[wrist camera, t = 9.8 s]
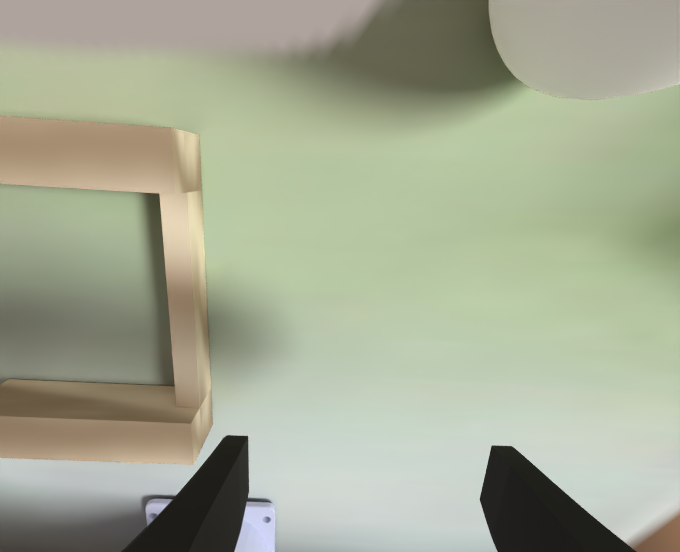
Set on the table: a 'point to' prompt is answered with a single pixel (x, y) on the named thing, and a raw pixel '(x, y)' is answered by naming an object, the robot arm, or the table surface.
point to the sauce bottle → (589, 45)
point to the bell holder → (182, 289)
